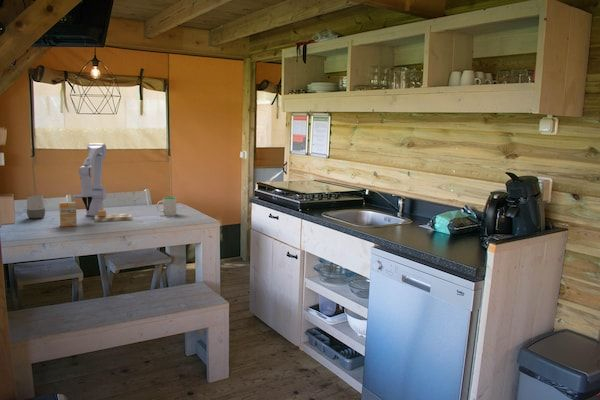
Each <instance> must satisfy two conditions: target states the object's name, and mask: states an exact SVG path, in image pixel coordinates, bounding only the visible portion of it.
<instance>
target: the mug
mask: <svg viewBox="0 0 600 400" xmlns="http://www.w3.org/2000/svg"><path fill="white" fill-rule="evenodd" d="M160 203H162V210H160V209H159V204H160ZM156 208H157V211H159V212H160V213H161V212H162V213H163V216H176V215H177V214H178V213H177V212H178V211H177V197H173V196H168V197H167V196H166V197H163V198H162V200H159V201H158V202H157V203H156Z"/></svg>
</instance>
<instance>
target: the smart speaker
mask: <svg viewBox="0 0 600 400" xmlns="http://www.w3.org/2000/svg"><path fill="white" fill-rule="evenodd" d="M45 207H46V205H45V201H44V195H43V194H39V195H33V196H28V197H27V198H26V215H27V217H28V218H29V219H30V220H39V219H43V218H45V216H46V208H45Z"/></svg>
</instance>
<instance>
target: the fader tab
mask: <svg viewBox="0 0 600 400" xmlns="http://www.w3.org/2000/svg"><path fill="white" fill-rule="evenodd" d="M106 213H107V212H106V209H104V210H98V216H106V215H107V214H106Z"/></svg>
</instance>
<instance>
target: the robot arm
mask: <svg viewBox="0 0 600 400" xmlns="http://www.w3.org/2000/svg"><path fill="white" fill-rule="evenodd" d="M86 149H87V153H88V154H87V155H88V156H87V157H86V158H85V159H84V161H83V162H82V166H79V168H78V174H79V178H80V186H81V187H80V188H81V193H80V194H73V196H72V199H82V202H83V203H84V206H85V209H86V211H85V212H86V214H85V216H93V217H95V215H98V210H105V209H104V200H106V198H107V191H106V187H105V186H103V185H102V178H103V163H104V159H105V158H106V157H107V145H106V143H88V144H87V148H86ZM106 215H108V213H107V212H106Z"/></svg>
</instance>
